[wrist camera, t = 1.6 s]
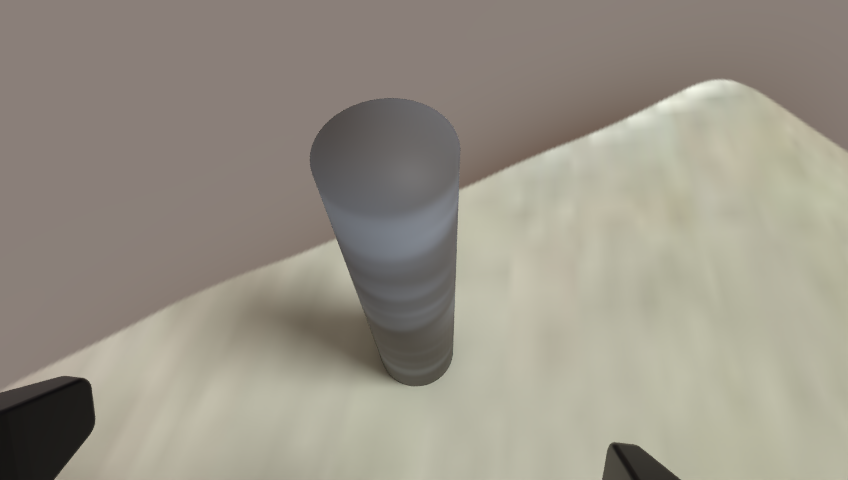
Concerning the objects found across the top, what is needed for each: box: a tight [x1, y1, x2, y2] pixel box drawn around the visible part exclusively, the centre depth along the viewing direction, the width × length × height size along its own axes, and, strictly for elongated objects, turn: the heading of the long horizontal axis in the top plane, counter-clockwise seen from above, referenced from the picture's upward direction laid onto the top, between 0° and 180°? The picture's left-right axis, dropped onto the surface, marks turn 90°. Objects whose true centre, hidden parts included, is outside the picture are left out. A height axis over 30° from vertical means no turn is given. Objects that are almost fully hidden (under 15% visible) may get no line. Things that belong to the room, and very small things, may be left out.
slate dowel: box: [310, 98, 460, 386], centre depth 16 cm, size 3×3×13 cm
